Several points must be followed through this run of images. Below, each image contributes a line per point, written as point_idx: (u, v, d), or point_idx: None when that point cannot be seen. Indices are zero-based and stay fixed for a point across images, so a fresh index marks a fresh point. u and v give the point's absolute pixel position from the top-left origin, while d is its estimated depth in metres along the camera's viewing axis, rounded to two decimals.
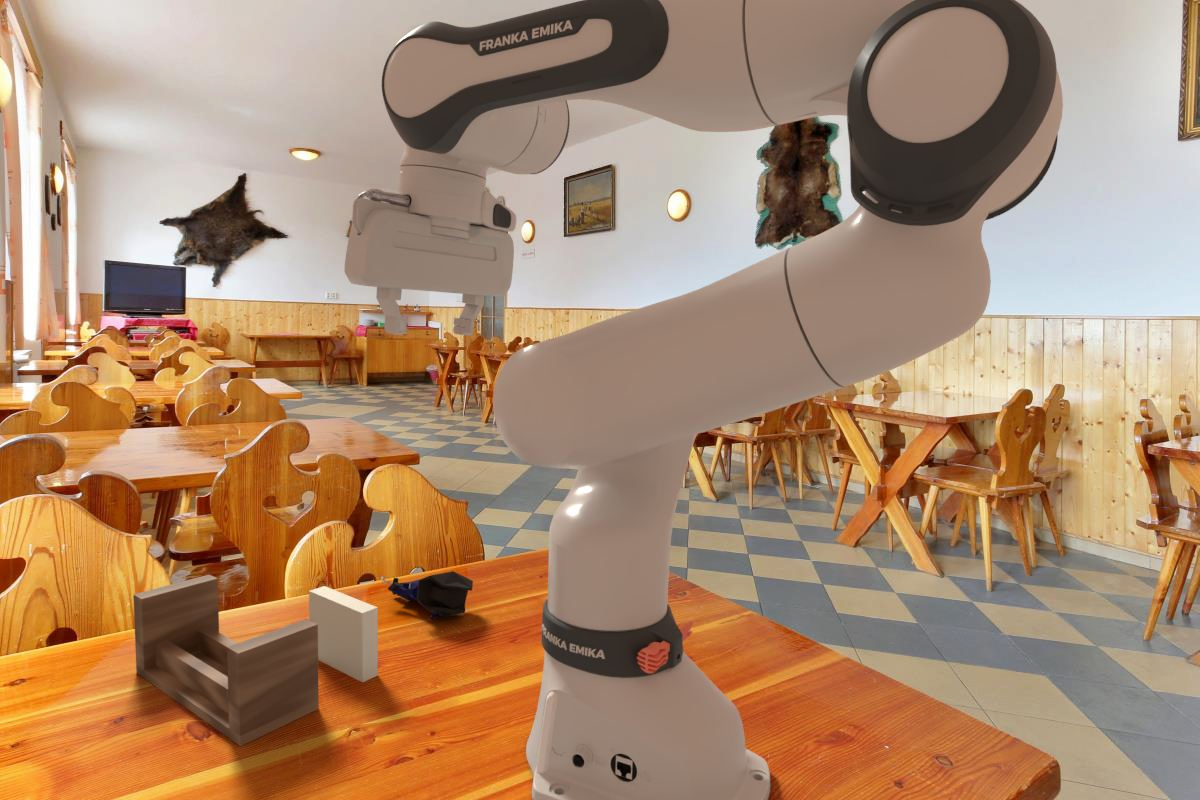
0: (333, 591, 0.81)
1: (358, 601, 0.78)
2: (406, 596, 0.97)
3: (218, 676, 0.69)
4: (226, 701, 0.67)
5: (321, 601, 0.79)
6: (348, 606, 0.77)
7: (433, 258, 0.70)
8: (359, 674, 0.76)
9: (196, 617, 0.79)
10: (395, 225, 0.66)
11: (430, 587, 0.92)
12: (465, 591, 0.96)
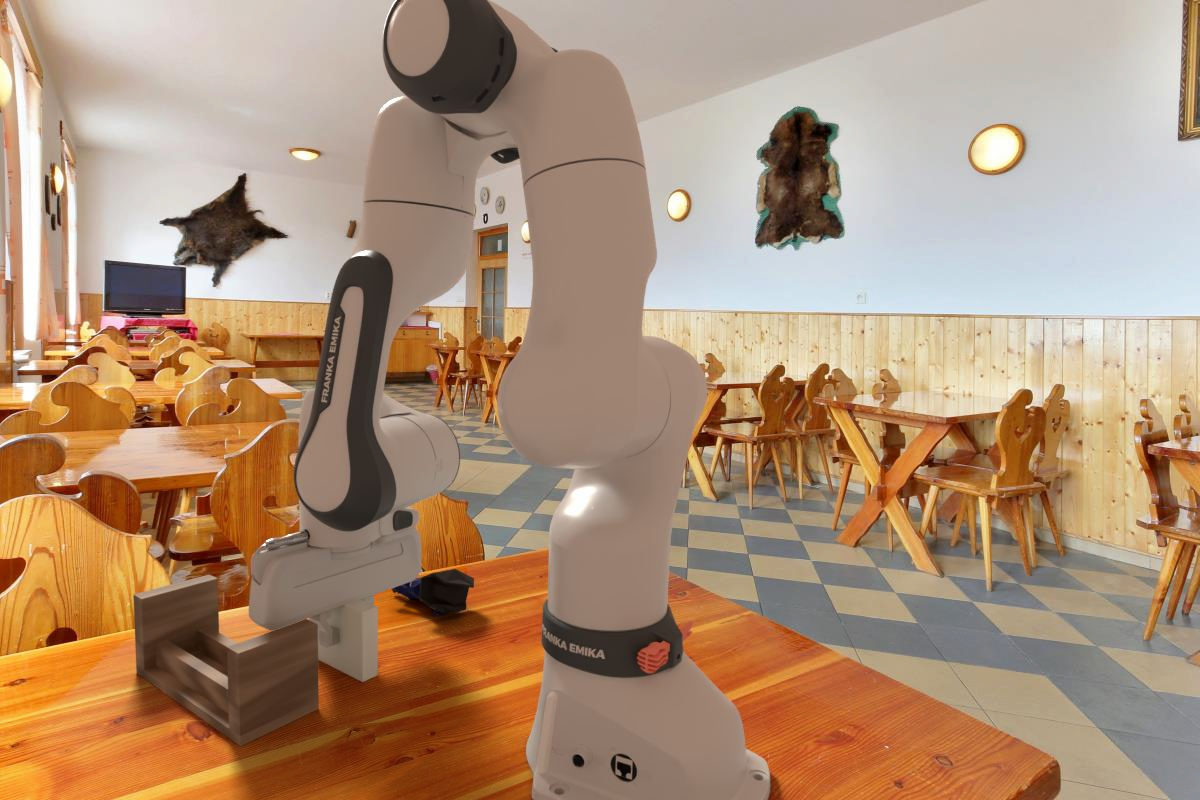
0: None
1: (358, 600, 0.78)
2: (407, 594, 0.98)
3: (218, 676, 0.69)
4: (226, 701, 0.67)
5: None
6: (349, 605, 0.77)
7: (336, 579, 0.76)
8: (359, 673, 0.76)
9: (196, 617, 0.79)
10: (292, 569, 0.71)
11: (432, 584, 0.92)
12: (466, 588, 0.97)
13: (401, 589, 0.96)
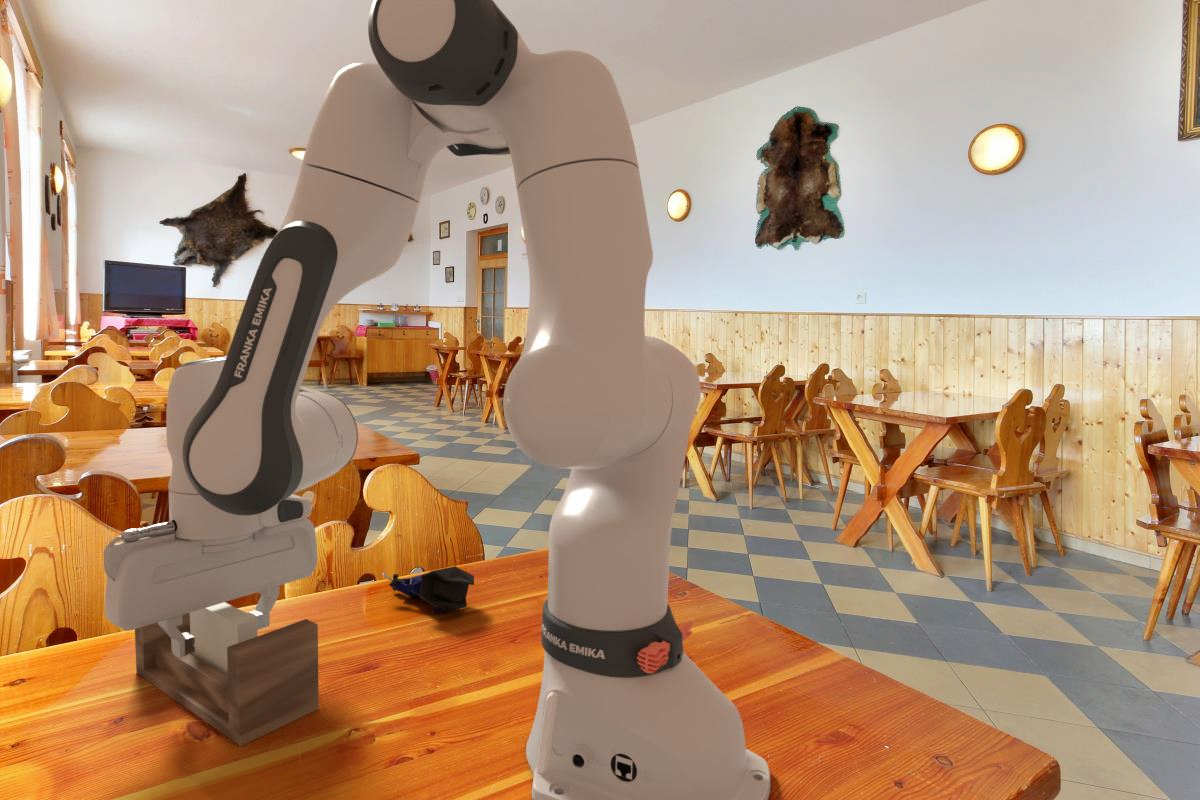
0: None
1: (238, 611, 0.72)
2: (407, 592, 0.99)
3: (218, 676, 0.69)
4: (226, 701, 0.67)
5: (200, 611, 0.73)
6: (226, 616, 0.70)
7: (209, 575, 0.69)
8: None
9: None
10: (153, 563, 0.65)
11: (433, 582, 0.93)
12: (466, 586, 0.98)
13: (401, 587, 0.97)
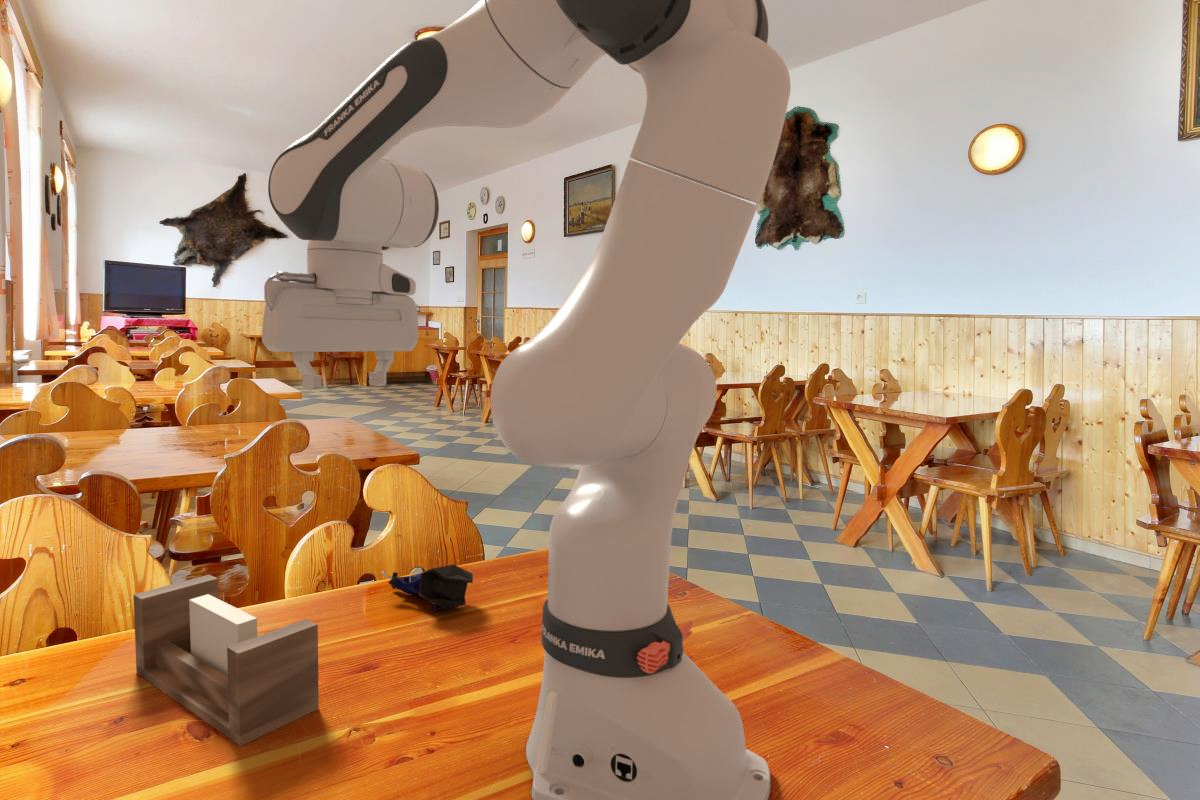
0: (215, 600, 0.74)
1: (238, 611, 0.72)
2: (406, 590, 0.99)
3: (218, 676, 0.69)
4: (226, 701, 0.67)
5: (200, 611, 0.73)
6: (226, 616, 0.70)
7: (340, 323, 0.84)
8: None
9: None
10: (301, 300, 0.79)
11: (432, 580, 0.94)
12: (465, 584, 0.98)
13: (401, 585, 0.97)
